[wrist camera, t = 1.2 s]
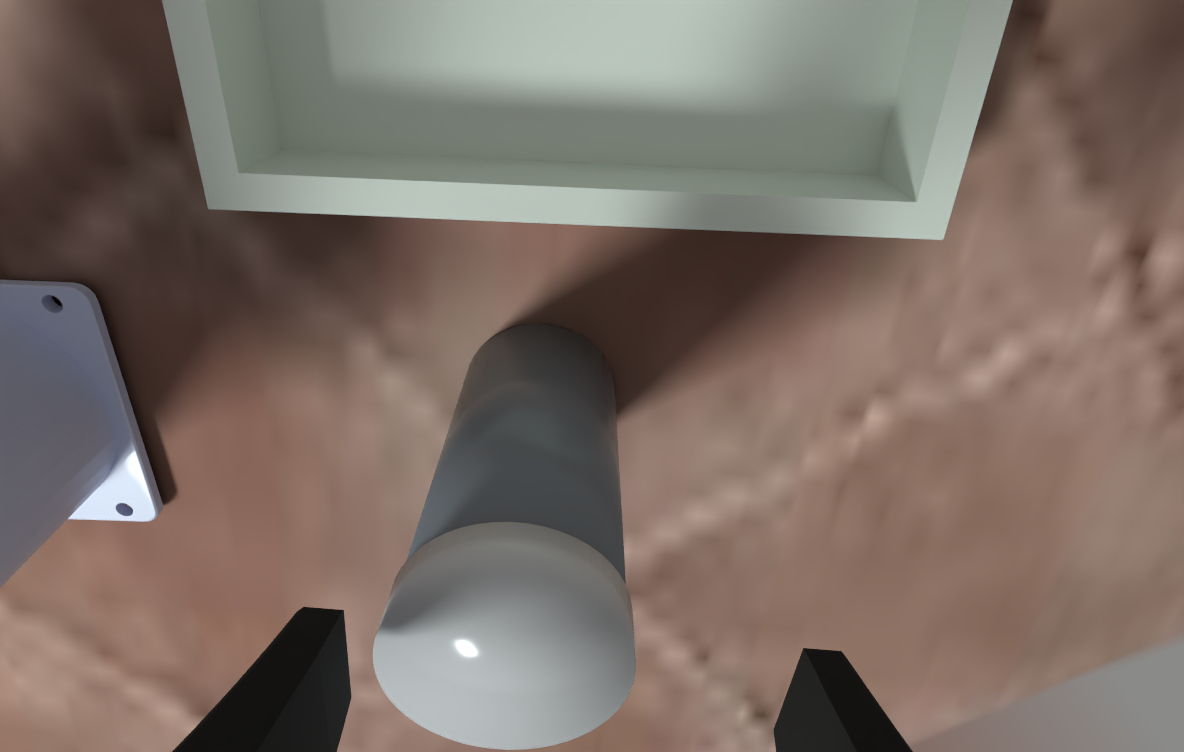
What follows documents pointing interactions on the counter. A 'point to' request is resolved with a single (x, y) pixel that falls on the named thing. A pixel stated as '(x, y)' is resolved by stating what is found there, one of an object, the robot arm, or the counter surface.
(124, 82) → the counter surface
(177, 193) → the counter surface
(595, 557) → the cylinder
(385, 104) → the tray
